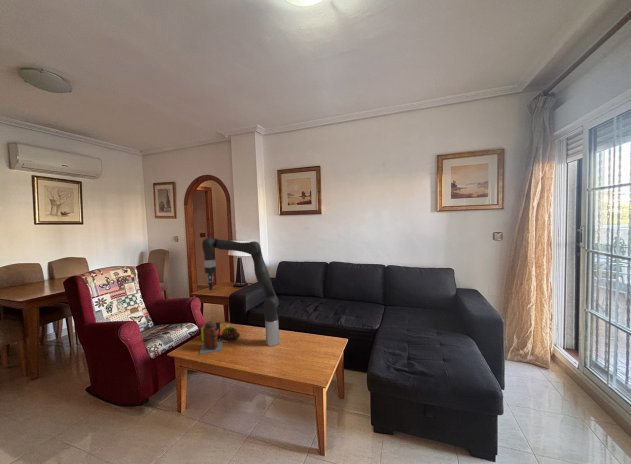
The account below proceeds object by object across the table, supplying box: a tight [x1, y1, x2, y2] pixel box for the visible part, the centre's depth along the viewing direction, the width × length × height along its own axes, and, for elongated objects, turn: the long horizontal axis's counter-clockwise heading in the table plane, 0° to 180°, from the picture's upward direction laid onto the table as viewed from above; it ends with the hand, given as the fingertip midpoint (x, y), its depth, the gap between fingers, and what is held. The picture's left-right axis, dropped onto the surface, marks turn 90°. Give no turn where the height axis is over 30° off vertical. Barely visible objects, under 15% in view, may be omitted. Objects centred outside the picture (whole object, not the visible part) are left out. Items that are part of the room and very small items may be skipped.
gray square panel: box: [199, 341, 223, 356], centre depth 176 cm, size 14×13×1 cm
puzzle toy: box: [200, 322, 221, 342], centre depth 192 cm, size 10×10×10 cm
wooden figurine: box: [203, 320, 219, 350], centre depth 176 cm, size 12×6×18 cm, turn 64°
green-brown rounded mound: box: [217, 324, 240, 343], centre depth 192 cm, size 17×16×10 cm
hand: (211, 288), depth 182 cm, fingers open, 8 cm apart
